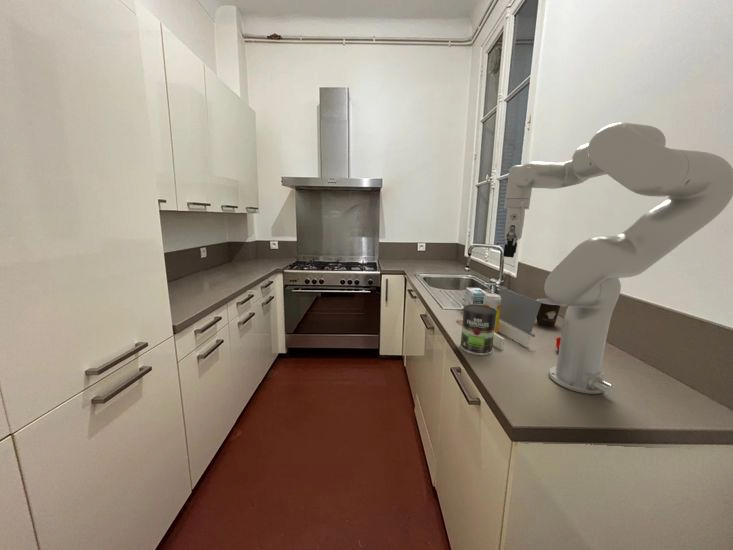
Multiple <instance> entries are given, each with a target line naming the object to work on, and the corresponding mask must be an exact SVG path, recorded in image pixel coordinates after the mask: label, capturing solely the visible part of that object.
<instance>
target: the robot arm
mask: <svg viewBox="0 0 733 550" xmlns="http://www.w3.org/2000/svg"><path fill="white" fill-rule="evenodd" d="M666 140H667V139H666V136H665V134H664V133H663V132H662V131H661V129H659V128H657V127H655V126H652V125H647V124H638V123H630V122H615V123H612V124H608V125H606V126H604V127H602V128H601V129H600V130H599V131H597V132H596V133H595V134H594V135H593V136H592V138H591V139H590V140H589V143H585V144H582V145H580V146H579V147H578V148H577V149H575V151H574V153H573V155H572V157H571V158H572V159H571V160H567V161H565V162H548V161H531V162H527V163H523V164H518V165H513V166H511V167H510V168H509V171H508V176H507V183H506V191H505V199H504V206H503V209H504V210H506V209H507V212H506V220H505V228H504V238H505V244H504V248H503V255H502V256H503V257H504V258H512V259H513V258H514V257H515V254H516V253H517V248H518V247H517V245H518V242H517V241H518V240H521V239H522V236H523V231H524V230H523V229H524V224H525V217H526V210H529V209H530V204H531V199H532V193H533V192H532V191H533V189H549V190H551V189H552V190H553V189H561V188H566V187H571V186H575V185H576V186H577V185H579V184H583V183H584V182H587V181H588V180H589V179H593V178H596V177H601V176H604V175H607V176H609V177H610V178H612V179H613V180H614V181H616V182H617V183H619V185H621V186H622V187H624V188H626V189H627V190H628V191H631V192H633V193H635V194H637V195H639V196H646V197H662V198H666V199H665V200H664V201H663V202H662V203H660V204H658V205H657V206H655V207H653V208H652V209H650V210H647V212H645V213H644V214H643V215H642V216H640V217H639V218H637V220H636V221H635V222H634V223H633V224H631V226H629V227H628V228H627V229H626V230H624V231H622V232H621V233H620V234H617V235H616V234H615V235H601V236H600V235H599V236H594V237H591V238H588V239H586V240H584V241H583V242H580V243H579V244H578V245H577V246H575V248H574V249H572V250H571V251H570V253H568V255H566V256H565V257H564V258H563V260H561V261H560V262H559V264H558V265H556V266H555V268H553V270H552V271H551V272H550V273H549V274H548V276H547V277H546V280H545V282H544V287H543V288H544V293H545V296H546V299H549V300H550V301H551V302H552V303H554V304H556V305H559V306H560V307H567V309H566V310H565V314H564V317H563V323H562V326H561V327H562V328H561V335H560V337H561V340H560V347H559V350H558V354H557V362H556V365H554V366H552V367H550V368H549V370H548V376H549V377H550V378H551V380H552V381H553V382H554V383H556V384H558V385H560V386H561V387H563V388H565V389H567V390H568V389H569V390H571V391H573V392H576V393H581V394H587V395H588V394H589V395H597V394H604V395H605V396H608V395H610V394H611V392H612V390H613V389H614V386H613V385H612V383H609V382H607V381H605V373H604V372H601V369H602V364H603V359H604V353H605V348H606V342H607V337H608V332H609V328H610V322H611V319H612V316H613V312H614V309H615V307H616V304H617V302H618V300H619V298H620V295H621V289H622V284H621V281H620V279H624V278H631V277H635V276H639V275H641V274H642V273H644V272H646V271H648V269H649V268H650V267H652V266H653V265H655V264H656V263H657V262H658V261H660V260H662V258H665V256H667V255H668V254H669V253H670V252H671V253H672V251H673V250H675V249H676V248H678V246H679V245H681V244H683V242H685V241H686V240H688V238H691V237H692V236H693V235H695V233H697V232H699V231H700V230H701V229H703V228H704V227H705V226H707V225H709V223H711V222H712V221H713V220H715V219H716V218H717V217H718V216H719V215H720V214H721V213H722V212H723V211H724V210H725V209H726V208H727V206H728V204H730V202H731V200H732V198H733V166H732V165H731V164H730V163H729V162H728V161H727V160H726V159H725V158H724V157H722V156H720V155H717V154H714V153H712V152H706V151H698V150H687V149H676V148H669V147H667V146H666V144H667V143H666Z"/></svg>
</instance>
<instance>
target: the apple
mask: <svg viewBox="0 0 733 550" xmlns="http://www.w3.org/2000/svg"><path fill="white" fill-rule="evenodd" d="M555 340H556V343H555V347H556V349H557V351H559V347H560V340H561V336H560V337H557V338H556V339H555Z"/></svg>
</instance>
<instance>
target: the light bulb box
mask: <svg viewBox="0 0 733 550" xmlns="http://www.w3.org/2000/svg"><path fill="white" fill-rule="evenodd" d="M465 289H466V290H465V291H466V292H465V305H464V306H466V305H472V304H474V305H483V300H484V296H485V294H488V292H486V291H485V290H483V289H481V288H480V287H465Z"/></svg>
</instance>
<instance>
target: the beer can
mask: <svg viewBox="0 0 733 550" xmlns="http://www.w3.org/2000/svg"><path fill="white" fill-rule="evenodd" d="M487 293H488V292H487ZM483 305H484V306H488V307H491V308H494V309H495V310H496V311H497V313H496V319H495V328H494V333H496V334H498V332H499V331H498V325H499V315H500V306H501V297H500V295H499V294H497V293H488V294H485V296H484V300H483Z"/></svg>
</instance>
